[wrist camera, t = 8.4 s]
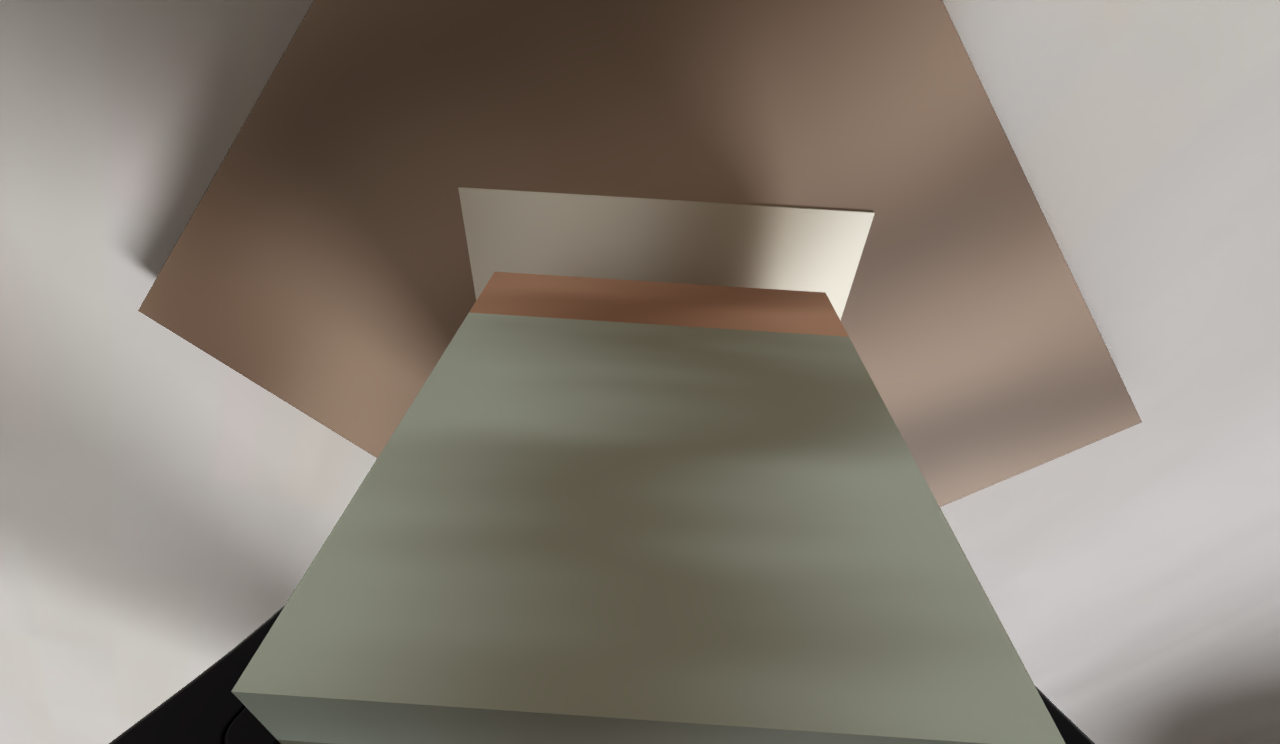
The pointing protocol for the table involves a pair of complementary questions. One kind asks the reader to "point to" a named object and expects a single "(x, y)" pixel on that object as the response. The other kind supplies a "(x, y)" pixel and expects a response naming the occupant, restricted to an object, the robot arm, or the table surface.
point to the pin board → (643, 206)
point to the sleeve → (643, 545)
